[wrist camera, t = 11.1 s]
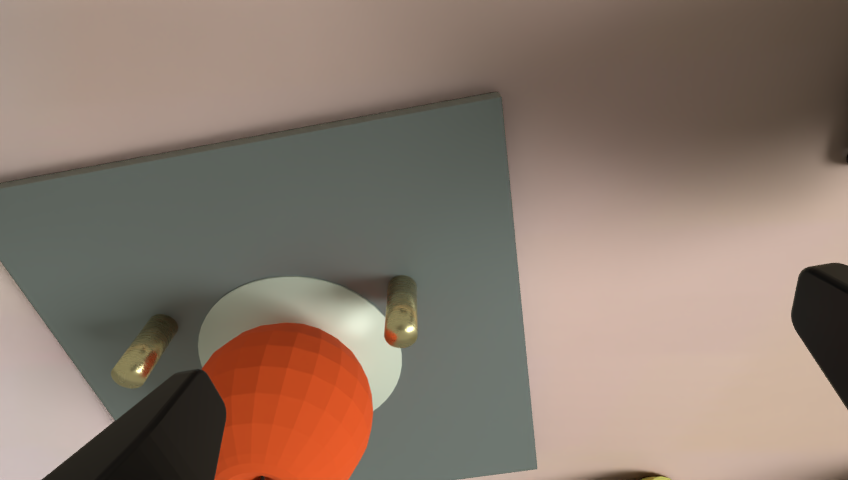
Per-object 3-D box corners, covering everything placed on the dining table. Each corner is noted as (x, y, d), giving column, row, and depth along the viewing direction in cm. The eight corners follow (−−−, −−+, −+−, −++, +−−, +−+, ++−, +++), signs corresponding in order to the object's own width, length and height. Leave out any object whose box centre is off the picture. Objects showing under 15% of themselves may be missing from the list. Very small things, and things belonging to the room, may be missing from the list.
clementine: (404, 404, 23) (401, 562, 17) (270, 432, 24) (221, 594, 18) (347, 269, 19) (317, 412, 13) (190, 308, 20) (92, 460, 14)
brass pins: (413, 273, 20) (414, 319, 17) (450, 438, 25) (455, 493, 22) (143, 316, 20) (104, 367, 18) (232, 468, 25) (211, 525, 23)
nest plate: (497, 91, 17) (501, 97, 16) (534, 455, 27) (537, 470, 26) (-28, 188, 18) (-48, 198, 18) (188, 501, 28) (182, 517, 27)
